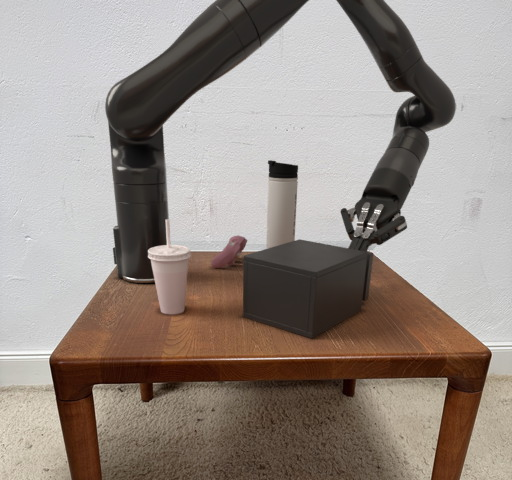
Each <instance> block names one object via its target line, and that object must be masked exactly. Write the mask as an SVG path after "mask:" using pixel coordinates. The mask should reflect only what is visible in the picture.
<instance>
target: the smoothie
mask: <svg viewBox="0 0 512 480" xmlns="http://www.w3.org/2000/svg"><path fill="white" fill-rule="evenodd" d="M165 221H166V238H167V245H162V246H156V247H152V248H150V249H149V250H148V258H149V259H151V264H152V270H153V274H154V279H155V282H154V283H155V288H156V294H157V299H158V305H159V309H160V312H161V313H162V314H165V315H179V314H182V313H184V311H185V310H186V309H185V308H186V296H187V285H188V272H189V271H188V270H189V260H190V258H191V257H192V253H191V248H189V247H187V246H183V245H180V244H179V245H177V244H171V225H170V224H171V223H170V218H169V219H166V220H165Z"/></svg>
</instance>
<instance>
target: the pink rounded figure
mask: <svg viewBox="0 0 512 480" xmlns="http://www.w3.org/2000/svg"><path fill="white" fill-rule="evenodd" d="M247 243H248V239H246V237H244V236H241V235H239V234H238V235H232V236H231V237H230V238H229V240H228V243H227V244H226V245H225V247H223V249H222V251H220V252H219V253H218V254H216V255H215V256H213V258H212V259H211V262H210V265H211V267H212V268H214V269H220V268H224V267H225V266H227V265H228V266H230V267H232V266H233V265H234V263H236V261H237V260H240V258H241V256H242V252H243V251H244V249H246V247H247Z"/></svg>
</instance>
